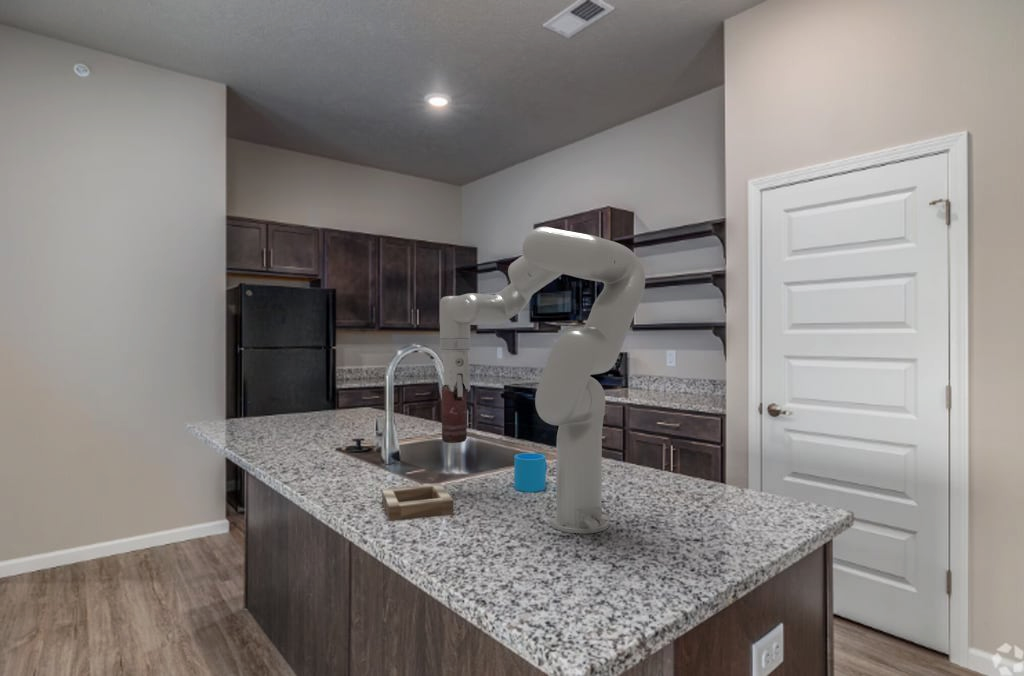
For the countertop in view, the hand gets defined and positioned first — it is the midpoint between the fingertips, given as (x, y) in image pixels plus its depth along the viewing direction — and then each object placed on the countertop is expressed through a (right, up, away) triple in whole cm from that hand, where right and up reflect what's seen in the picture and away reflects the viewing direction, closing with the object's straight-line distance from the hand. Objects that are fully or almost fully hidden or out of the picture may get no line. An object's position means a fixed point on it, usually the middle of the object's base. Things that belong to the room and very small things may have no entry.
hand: (455, 419), depth 136 cm
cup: (0, -6, +1) cm, 6 cm away
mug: (+20, -19, +9) cm, 29 cm away
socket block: (-8, -19, -11) cm, 23 cm away
